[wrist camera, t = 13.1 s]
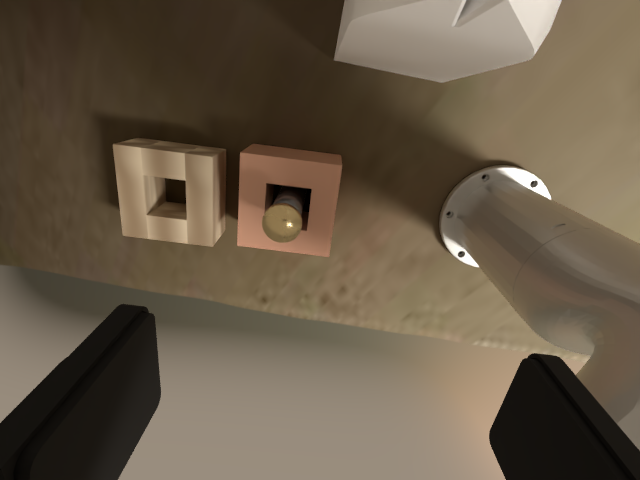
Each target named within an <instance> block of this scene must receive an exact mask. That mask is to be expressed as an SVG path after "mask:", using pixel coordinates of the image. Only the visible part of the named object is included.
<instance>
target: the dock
mask: <svg viewBox="0 0 640 480" xmlns="http://www.w3.org/2000/svg"><path fill="white" fill-rule="evenodd" d="M341 172H342V159H341V155H338V154H330V153H322V152H314V151H307V150H299V149H291V148H284V147H276V146H268V145H260V144H252V145H250V146H249V147H247V148H246V149H244V150H243V151H241V152H240V175H239V208H238V241H237V246H245V247H253V248H261V249H269V250H277V251H285V252H293V253H301V254H309V255H317V256H325V257H329V253H330V246H331V240H332V233H333V226H334V219H335V213H336V206H337V199H338V192H339V185H340V179H341ZM274 184H277V185H285V186H293V187H301V188H309V189H312V192H311V200H310V209H309V212H302V214H301V217H302V227H301V231H300V233H299V235H298V236H297V237H296V238H295V239H294V240H292V241H290V242H286V243H279V242H275V241H273V240H271V239H270V238H269V237H268V236H267V235H266V234H265V233H264V231H263V228H262V219H263V216H264V214H265V212H266V210H267V209H268V208H269V207H270V206H272V205H273V194H274Z"/></svg>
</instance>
